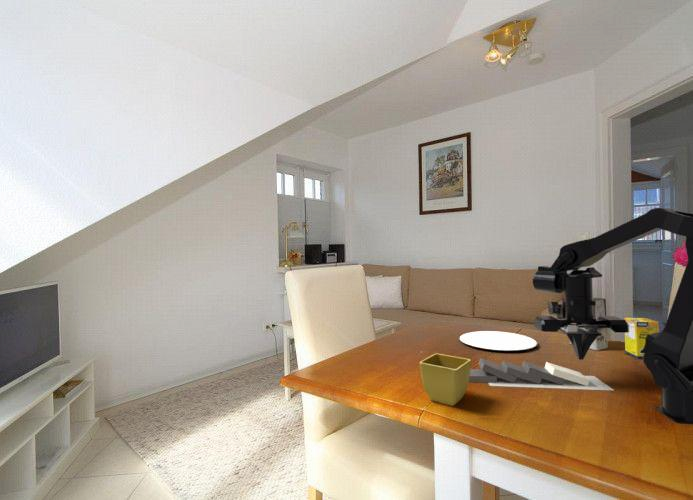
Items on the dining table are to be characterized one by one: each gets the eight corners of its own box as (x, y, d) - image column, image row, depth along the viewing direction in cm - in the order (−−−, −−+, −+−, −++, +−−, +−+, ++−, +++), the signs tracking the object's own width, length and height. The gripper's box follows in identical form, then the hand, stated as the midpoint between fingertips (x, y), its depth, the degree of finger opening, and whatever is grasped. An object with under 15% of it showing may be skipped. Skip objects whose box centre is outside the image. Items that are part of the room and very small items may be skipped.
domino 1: (496, 376, 86) (462, 376, 88) (496, 382, 86) (463, 382, 88) (491, 369, 91) (460, 369, 93) (492, 375, 91) (460, 375, 93)
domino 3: (541, 378, 84) (507, 367, 86) (539, 384, 84) (505, 373, 86) (534, 370, 89) (502, 360, 91) (532, 376, 89) (500, 366, 91)
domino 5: (589, 379, 82) (554, 368, 84) (587, 386, 83) (552, 374, 84) (579, 372, 87) (546, 361, 89) (577, 378, 88) (544, 367, 89)
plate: (445, 339, 131) (445, 334, 131) (500, 332, 138) (500, 328, 138) (492, 358, 107) (492, 353, 107) (555, 349, 114) (555, 344, 114)
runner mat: (614, 392, 80) (614, 390, 80) (489, 387, 85) (489, 385, 85) (594, 377, 89) (593, 376, 89) (482, 374, 94) (482, 372, 94)
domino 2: (516, 377, 85) (484, 364, 87) (513, 383, 86) (481, 369, 87) (510, 370, 90) (480, 357, 92) (508, 376, 90) (478, 363, 92)
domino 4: (564, 379, 84) (529, 367, 85) (562, 385, 84) (527, 373, 85) (555, 371, 88) (523, 360, 90) (553, 377, 89) (521, 366, 90)
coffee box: (609, 348, 113) (607, 298, 113) (597, 351, 110) (595, 300, 110) (579, 341, 121) (578, 295, 121) (568, 344, 118) (566, 297, 118)
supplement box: (660, 359, 100) (659, 321, 100) (636, 359, 102) (635, 321, 102) (647, 353, 106) (646, 317, 106) (624, 352, 107) (623, 317, 107)
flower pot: (436, 389, 84) (435, 352, 84) (472, 398, 79) (471, 358, 79) (419, 402, 78) (418, 362, 78) (457, 413, 72) (456, 370, 72)
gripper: (603, 290, 91) (604, 350, 91) (526, 291, 95) (528, 348, 95) (629, 296, 80) (631, 364, 80) (541, 297, 84) (543, 362, 84)
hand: (580, 359), depth 85 cm, fingers closed
